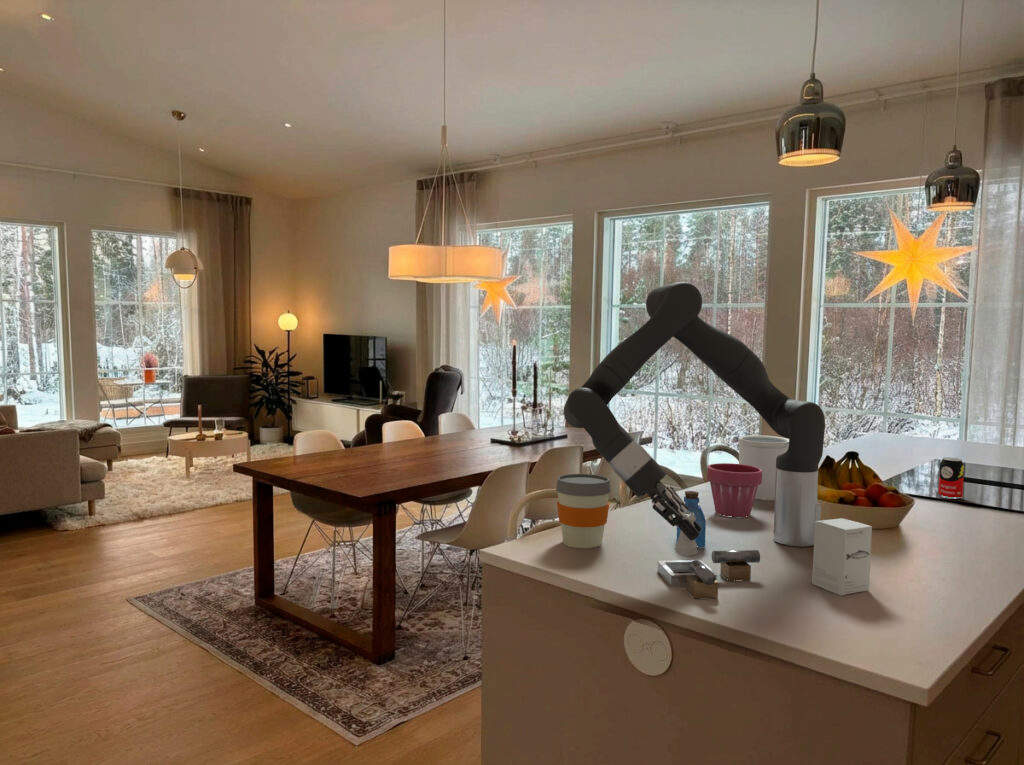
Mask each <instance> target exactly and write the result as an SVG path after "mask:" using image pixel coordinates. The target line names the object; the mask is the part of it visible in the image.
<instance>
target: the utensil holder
mask: <svg viewBox="0 0 1024 765" xmlns="http://www.w3.org/2000/svg"><path fill="white" fill-rule="evenodd" d="M738 444H739V446H738V447H739V449H738V451H739V452H738V464H744V465H750V466H754V467H758V468H760V469H761V470H762V483H761V484H760V485H758V488H757V492H756V496H755V499H754V500H757V499H761V500H760V501H775V480H776V458H777V456H778V455H780V454H783V453H785V452H786V451H787V450H788V447H789V438H785V437H782V436H774V435H764V434H763V435H762V434H761V435H760V434H759V435H758V434H756V435H755V434H754V435H753V434H751V435H749V434H747V435H740V436H739V437H738Z"/></svg>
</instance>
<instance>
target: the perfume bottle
mask: <svg viewBox="0 0 1024 765" xmlns="http://www.w3.org/2000/svg"><path fill="white" fill-rule="evenodd" d="M683 502H684V503H685V505H686V506H687V507H688V511H689V512H691V515H692V513H694V516H695V518H696V520H695V521H696V522H697V523H698V524H699V526H700V527H701V531H700V532H699V536H698V537H696V538H695V539H694V540H695V541H696V542H695V543H696V544H697V546H698V547H705V548H706V528H707V527H706V526H707V523H706V522H707V521H706V517H705V513H704V511H703V509H702V506H701V505H700V504H699V503H700V497H699V492H698V491H695V490H686V491H684V496H683ZM680 531H681V529H680V528H679V527H676V542H677V541H678V539H679V536H680Z"/></svg>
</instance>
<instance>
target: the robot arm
mask: <svg viewBox="0 0 1024 765" xmlns="http://www.w3.org/2000/svg"><path fill="white" fill-rule="evenodd" d="M702 306H703V297H702V294H701V291H699V288H698V287H697V286H695V284H692V283H690V282H686V281H678V282H672V283H669V284H664V285H661V286H658V287H656V288H654V289H653V290H651V291H650V292H649V293H648V295H647V297H646V300H645V307H646V312H647V314H648V317H649V319H648V320H647V321H646V322H645V323H644V324H643V325H641V327H639V328H638V329H637V330H636V331H635V332H633V333H631V334H630V335H629V336H627V337H626V338H625V339H624V340H623V341H621V342H620V343H619V344H616V346H615V347H614V348H613V349H612V350H610V352H609V353H608V354H606V355H605V357H604V358H603V359H602V360H601V362H599V364H598V365H597V366H596V367H595V368H594V370H593V371H592V372H591V374H590V376H589V378H588V379H587V380H586V381H585V382H584V383H583V384H582V385H581V386H580V387H578V388H575V389H574V390H573V391H572V392H570V393H569V395H568V397H567V399H566V401H565V403H564V406H563V416H564V419H565V421H566V423H567V424H568V425H569V426H571V427H573V428H575V429H584V430H585V432H586V433H587V434H588V435H589V436H590V439H591V440H592V441H591V442H592V445H593V446H594V448H595V450H596V451H597V452H598V453H599V454H600V456H602V458H603V459H604V460H605V461H606V463H608V464H609V465H610V467H611V469H613V471H614V472H615V474H616V475H617V476H618V477H619V478H620V480H621V481H622V482H623V483H624V484H625V485H626V486H627V487H628V488H629V489H630V491H631V492H632V493H633V494H634V495H635V496H636V497H637V498H642V497H644V496H645V495H646V494H647V495H648V497H649V498H650V500H651V504H652V509H653V510H654V511H655V512H656V513H657V514H659V515H660V516H661V517H662V519H664V520H665V521H666V522H667V523H669V524H670V526H672V527H676V528H677V527H679V528H680V529H681V530H682V531H683V533H684V534H685V535H686V536H687V537H688V538H689V539H690V540H694V539H695V538H696V537H698V536H699V532H700V531H701V527H700V526H699V524H698V523H697V522H696V521H694V523H693V524H694V526H695V527H694V526H693V525H692V524H691V523H690V522H689V520H688V519H687V518H686V516H685V515H684V514H683V513H682V512H686V514H688V512H689V511H688V507H687V506H686V505H685V502H684V500H683V499H682V498H681V497H680V495H679V494H678V493H677V492H676V490H675V489H674V487H672V486H667V485H666V484H664V483H663V482H662V479H664V478H665V477H666V475H667V473H666V471H665V470H664V469H663V467H661V466H660V464H659V463H658V462H657V461H656V460H655V459H654V458H653V457H652V456H651V455H650V453H649V452H648V451H647V450H646V449H645V448H644V447H643V446H642V445H640V443H638V442H637V441H636V440H635V439H634V438H633V437H632V436H631V435H630V433H629V432H627V430H626V429H625V428H624V427H623V426H622V425H621V424H620V423H619V422H618V420H617V418H616V416H615V415H614V413H613V412H612V411H611V409H610V408H609V406H608V404H609V403H610V402H611V401H612V399H613V398H614V397H615V396H616V395H617V394H619V393H620V392H621V391H622V390H623V388H624V387H625V386H626V385H627V384H628V383H629V382H630V380H632V378H633V377H634V376H635V375H636V374H637V373H638V371H640V370H641V368H643V366H644V365H645V364H646V363H647V362H648V361H649V360H650V359H651V358H652V357H653V356H654V355H655V354H656V353H657V352H658V351H659V350H660V349H661V348H662V347H663V346H664V345H666V344H667V343H668V342H669V341H670V340H671V339H672V338H674V339H676V340H677V341H679V343H681V344H682V345H683V346H685V347H686V348H687V349H688V350H689V351H691V353H692V354H694V355H695V357H697V358H698V359H699V360H700V361H701V362H702V363H703V364H704V365H705V366H707V367H708V368H709V369H710V370H711V371H712V372H713V373H714V375H716V376H717V377H718V378H719V379H720V380H721V381H722V382H723V383H724V384H725V385H727V386H728V387H729V388H730V389H731V390H733V391H734V392H735V394H737V395H738V396H739V397H741V399H743V400H744V401H745V402H747V404H749V405H750V406H751V407H752V408H753V409H754V410H755V411H756V412H757V413H758V414H759V415H760V417H761V418H762V419H763V420H764V421H765V422H766V424H767V425H768V426H769V427H770V428H771V429H772V430H773V431H774V432H775V433H776V434H777V435H778V436H779V437H782V438H787V439H789V447H788V450H787V451H786V452H785V453H783V454H780V455H778V456H777V458H776V480H775V500H774V516H773V541H774V542H776V543H778V544H781V545H785V546H790V547H791V546H792V547H812V546H814V532H815V521H821V512H822V511H821V510H822V509H821V508H822V506H821V503H820V502H818V488H819V486H818V485H819V484H818V482H819V465H820V463H821V460H822V458H823V453H824V441H825V430H826V420H825V419H826V418H825V414H824V410H822V407H821V406H820V405H819V404H817V403H815V402H812V401H805V400H800V399H794V398H791V397H789V396H787V395H786V394H785V393H783V391H781V390H780V389H778V388H777V387H776V386H775V385H774V384H773V383H772V381H771V380H770V378H769V375H768V373H767V369H766V367H765V365H764V363H763V362H762V360H761V359H760V357H759V356H758V355H757V354H756V353H755V352H753V351H752V350H751V349H750V347H748V346H747V345H746V344H745V343H744V342H742V340H740V339H739V338H737V337H735V336H733V335H732V334H729V333H727V332H726V331H723V330H722V329H719V328H718V327H715V326H714V325H711V324H710V323H708V322H706V321H705V320H703V319H702V318H701V317H700V316H699V315H700V312H701V310H702Z"/></svg>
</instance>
